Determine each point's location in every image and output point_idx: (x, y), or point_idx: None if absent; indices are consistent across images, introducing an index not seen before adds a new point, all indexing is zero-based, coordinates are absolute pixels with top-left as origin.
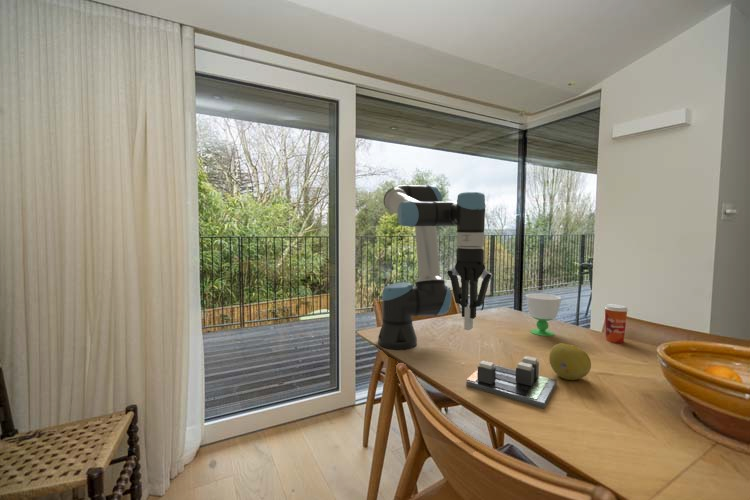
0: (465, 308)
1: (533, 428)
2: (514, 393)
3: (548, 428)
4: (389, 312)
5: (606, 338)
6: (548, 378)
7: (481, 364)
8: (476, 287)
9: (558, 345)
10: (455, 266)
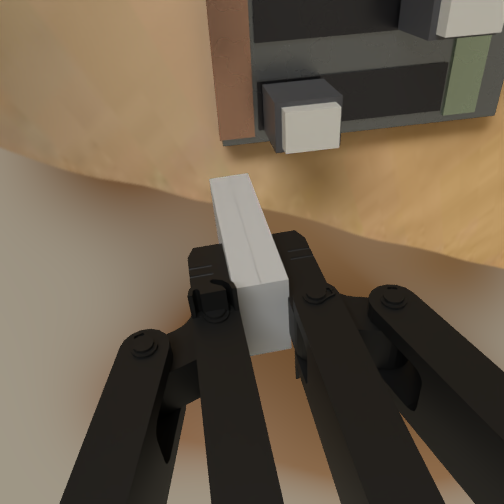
0: (250, 348)
1: (454, 223)
2: (402, 117)
3: (488, 199)
4: None
5: None
6: None
7: (294, 150)
8: (428, 500)
9: None
10: None
